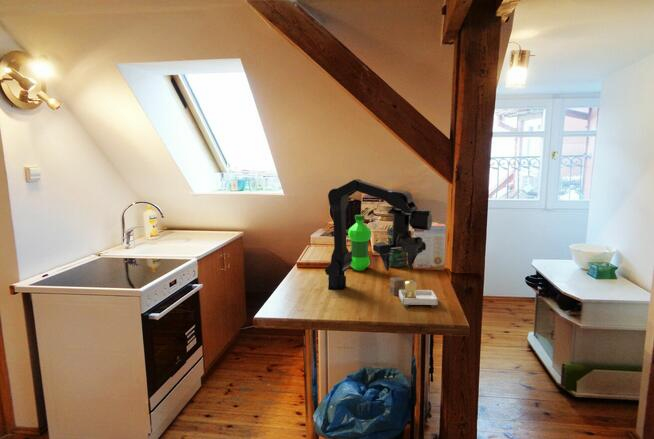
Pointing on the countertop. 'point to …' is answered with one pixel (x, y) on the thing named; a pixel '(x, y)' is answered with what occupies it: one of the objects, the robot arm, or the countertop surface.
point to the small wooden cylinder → (410, 289)
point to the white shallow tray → (419, 298)
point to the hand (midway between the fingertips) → (398, 269)
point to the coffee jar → (396, 254)
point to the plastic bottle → (359, 243)
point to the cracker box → (431, 248)
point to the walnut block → (396, 285)
